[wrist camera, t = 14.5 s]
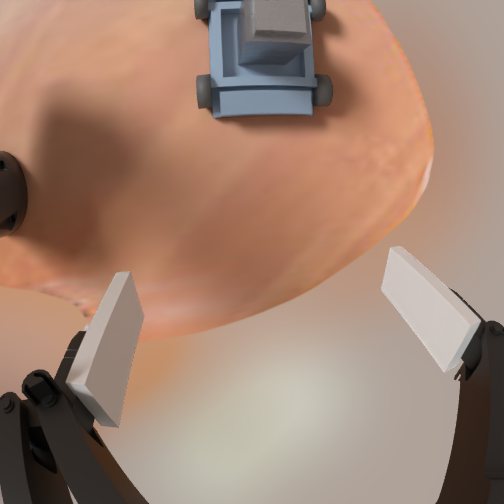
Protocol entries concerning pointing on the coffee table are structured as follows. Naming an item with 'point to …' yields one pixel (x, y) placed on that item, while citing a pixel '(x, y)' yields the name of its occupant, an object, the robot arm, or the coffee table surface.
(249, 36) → the block
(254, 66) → the chassis
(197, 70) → the coffee table surface
